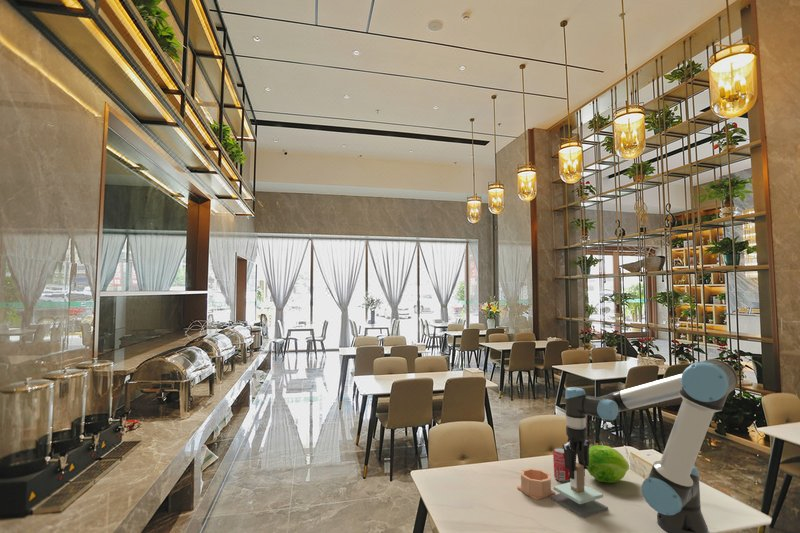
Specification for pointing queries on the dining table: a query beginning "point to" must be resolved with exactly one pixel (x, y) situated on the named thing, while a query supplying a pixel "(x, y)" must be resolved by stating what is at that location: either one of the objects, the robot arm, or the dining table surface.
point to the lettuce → (606, 464)
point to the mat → (579, 505)
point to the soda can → (560, 465)
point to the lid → (578, 488)
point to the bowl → (536, 483)
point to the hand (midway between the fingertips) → (577, 485)
